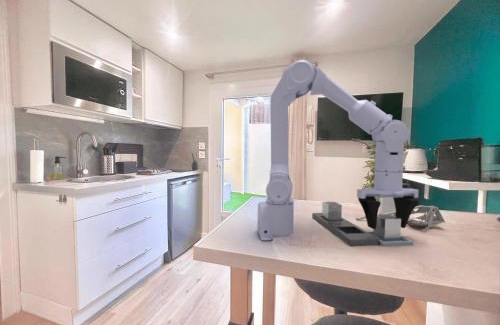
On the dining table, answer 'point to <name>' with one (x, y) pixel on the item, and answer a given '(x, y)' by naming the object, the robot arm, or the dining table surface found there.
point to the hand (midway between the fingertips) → (386, 227)
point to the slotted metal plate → (347, 231)
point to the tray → (395, 242)
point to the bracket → (429, 217)
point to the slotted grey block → (331, 211)
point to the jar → (390, 203)
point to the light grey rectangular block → (387, 228)
